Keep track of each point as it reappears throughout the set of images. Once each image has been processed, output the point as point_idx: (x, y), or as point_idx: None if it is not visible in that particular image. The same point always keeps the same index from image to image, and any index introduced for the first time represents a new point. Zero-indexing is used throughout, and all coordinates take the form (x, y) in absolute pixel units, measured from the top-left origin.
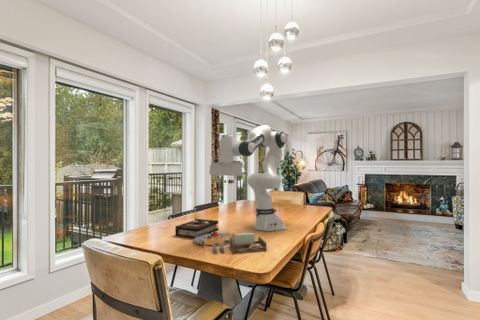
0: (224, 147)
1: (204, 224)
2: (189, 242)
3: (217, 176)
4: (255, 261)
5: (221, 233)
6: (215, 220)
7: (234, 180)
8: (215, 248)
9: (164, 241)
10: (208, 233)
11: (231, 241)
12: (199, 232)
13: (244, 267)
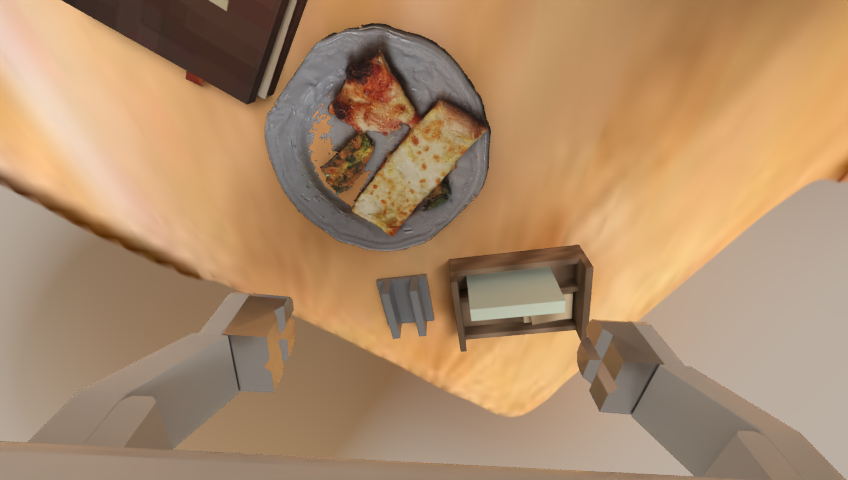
0: None
1: None
2: (253, 152)
3: (155, 425)
4: (516, 366)
5: (410, 43)
6: None
7: (677, 364)
8: (394, 333)
9: (113, 118)
10: None
11: (455, 311)
12: (268, 68)
13: (477, 393)
